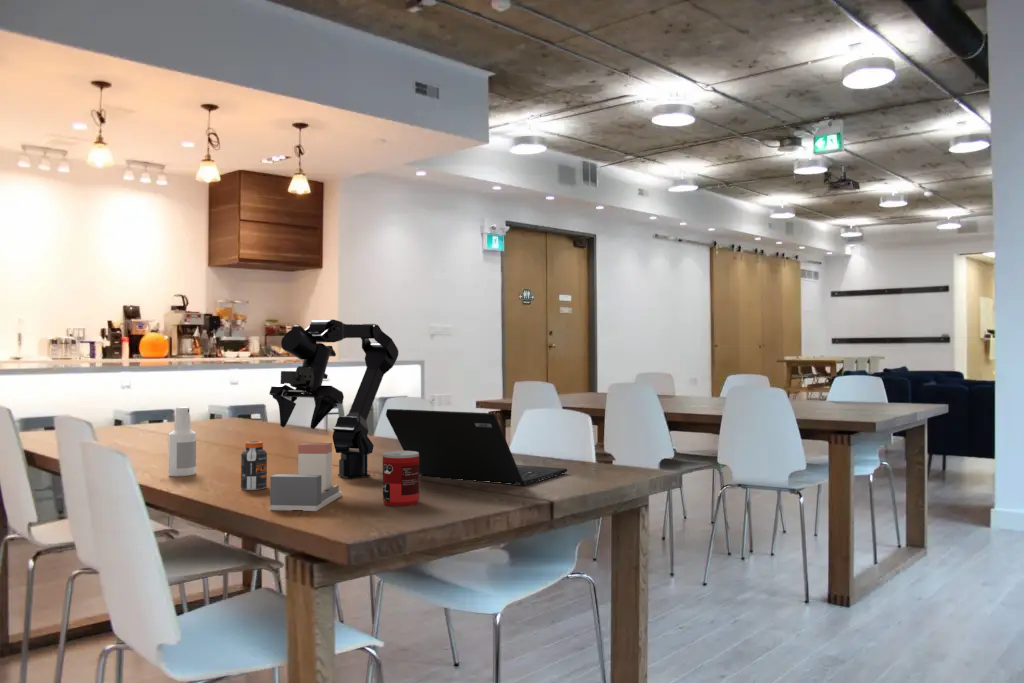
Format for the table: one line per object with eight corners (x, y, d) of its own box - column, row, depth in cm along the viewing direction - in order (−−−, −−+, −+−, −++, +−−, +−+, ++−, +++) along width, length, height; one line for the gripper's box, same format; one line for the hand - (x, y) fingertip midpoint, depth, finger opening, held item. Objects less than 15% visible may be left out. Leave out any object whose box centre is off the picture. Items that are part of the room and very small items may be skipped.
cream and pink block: (304, 490, 181) (304, 442, 181) (331, 491, 180) (331, 442, 180) (298, 493, 177) (298, 444, 177) (326, 494, 176) (326, 445, 176)
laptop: (568, 475, 213) (569, 403, 213) (494, 498, 181) (494, 413, 181) (466, 465, 230) (467, 399, 230) (382, 485, 198) (382, 407, 198)
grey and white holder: (299, 494, 183) (299, 464, 183) (341, 495, 182) (341, 465, 182) (269, 510, 166) (269, 476, 166) (316, 510, 165) (316, 477, 165)
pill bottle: (258, 491, 188) (258, 443, 188) (236, 490, 189) (236, 442, 189) (271, 486, 194) (271, 440, 194) (249, 485, 195) (249, 439, 195)
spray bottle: (189, 476, 208) (189, 408, 208) (163, 476, 208) (164, 408, 208) (200, 472, 215) (200, 406, 215) (175, 472, 215) (175, 406, 215)
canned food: (386, 499, 177) (386, 450, 177) (421, 499, 177) (421, 450, 177) (379, 506, 170) (379, 455, 170) (416, 506, 169) (416, 455, 169)
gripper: (263, 354, 192) (244, 415, 186) (324, 354, 184) (306, 418, 178) (292, 371, 201) (275, 429, 196) (351, 372, 193) (335, 433, 187)
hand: (297, 427), depth 189 cm, fingers open, 9 cm apart
